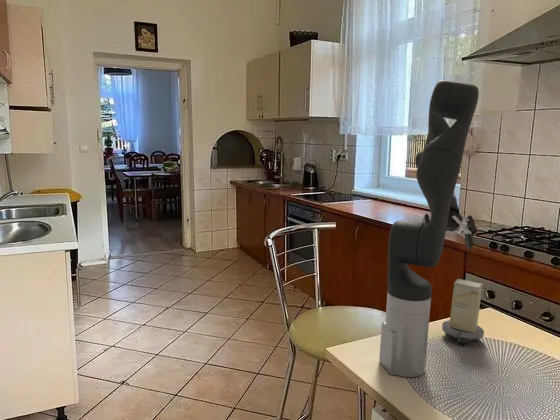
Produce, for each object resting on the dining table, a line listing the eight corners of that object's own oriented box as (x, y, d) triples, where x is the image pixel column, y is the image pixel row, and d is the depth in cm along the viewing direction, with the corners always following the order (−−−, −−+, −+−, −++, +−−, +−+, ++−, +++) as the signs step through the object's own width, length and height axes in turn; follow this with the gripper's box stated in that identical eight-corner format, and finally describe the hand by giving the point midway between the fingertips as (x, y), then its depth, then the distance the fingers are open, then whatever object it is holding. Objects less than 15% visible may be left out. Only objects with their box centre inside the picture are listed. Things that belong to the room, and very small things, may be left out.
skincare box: (448, 327, 113) (452, 282, 111) (453, 321, 117) (457, 278, 115) (474, 333, 109) (479, 287, 108) (478, 327, 113) (482, 283, 111)
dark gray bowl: (455, 348, 108) (456, 337, 107) (434, 331, 117) (435, 320, 117) (491, 346, 109) (492, 335, 109) (467, 329, 119) (468, 319, 119)
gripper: (422, 192, 127) (432, 239, 117) (471, 194, 126) (485, 241, 117) (415, 208, 133) (424, 253, 123) (462, 209, 133) (475, 255, 123)
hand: (454, 247), depth 120 cm, fingers open, 8 cm apart
